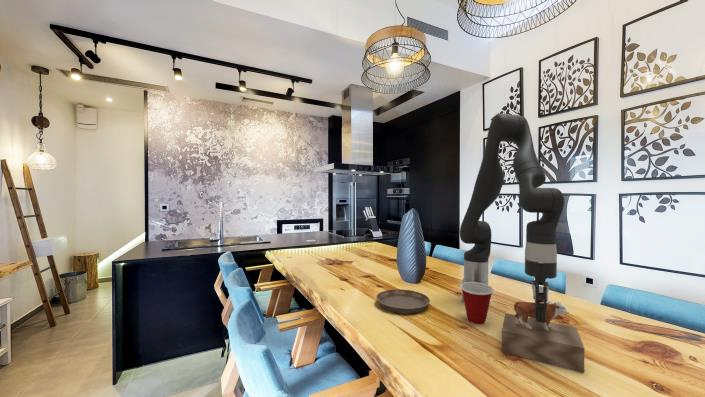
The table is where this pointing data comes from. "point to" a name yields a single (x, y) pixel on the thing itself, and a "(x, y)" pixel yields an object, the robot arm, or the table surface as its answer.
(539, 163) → the robot arm
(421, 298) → the plant saucer
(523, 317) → the bull figurine
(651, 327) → the table surface
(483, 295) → the plastic cup
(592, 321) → the table surface
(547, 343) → the walnut block
